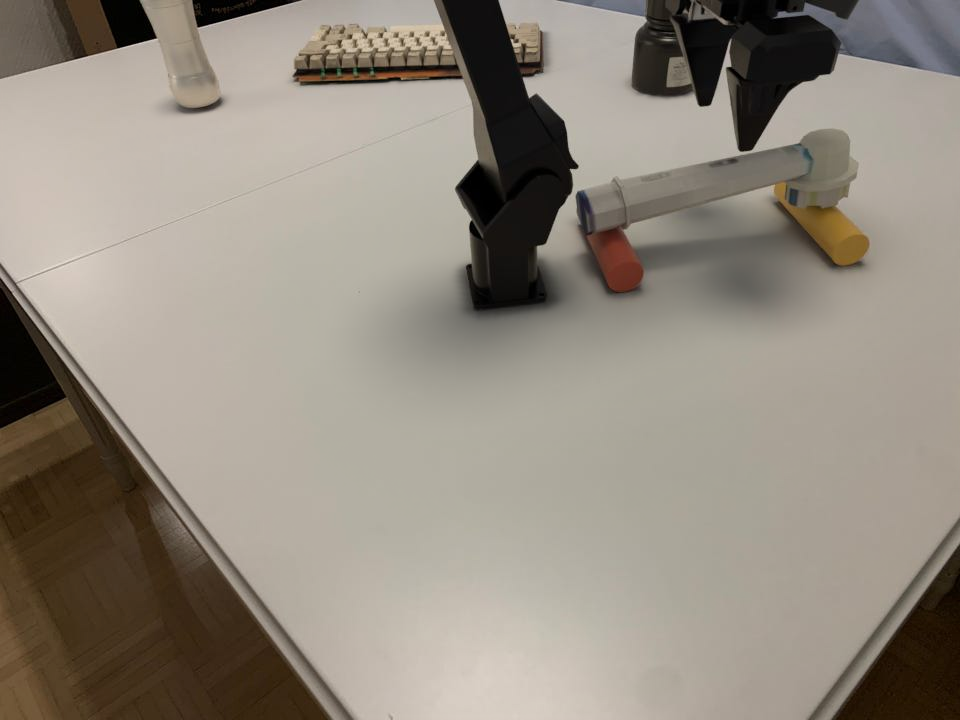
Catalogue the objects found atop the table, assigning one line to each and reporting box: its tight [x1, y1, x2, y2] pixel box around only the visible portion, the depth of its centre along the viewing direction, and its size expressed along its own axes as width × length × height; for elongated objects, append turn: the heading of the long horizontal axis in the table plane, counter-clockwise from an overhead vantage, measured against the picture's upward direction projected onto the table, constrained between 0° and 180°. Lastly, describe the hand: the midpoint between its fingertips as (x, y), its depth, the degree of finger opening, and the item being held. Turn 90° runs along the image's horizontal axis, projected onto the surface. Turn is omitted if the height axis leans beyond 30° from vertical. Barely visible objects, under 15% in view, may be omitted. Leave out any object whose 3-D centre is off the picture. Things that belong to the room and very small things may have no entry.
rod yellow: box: [773, 182, 870, 266], centre depth 66 cm, size 12×3×3 cm, turn 7°
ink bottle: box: [631, 0, 693, 95], centre depth 92 cm, size 10×9×12 cm
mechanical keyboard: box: [292, 22, 544, 83], centre depth 108 cm, size 38×19×3 cm, turn 87°
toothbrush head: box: [575, 128, 860, 237], centre depth 63 cm, size 5×7×25 cm
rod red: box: [575, 208, 645, 293], centre depth 65 cm, size 12×3×3 cm, turn 7°
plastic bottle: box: [139, 0, 221, 109], centre depth 94 cm, size 6×7×20 cm
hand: (723, 126), depth 60 cm, fingers open, 9 cm apart
